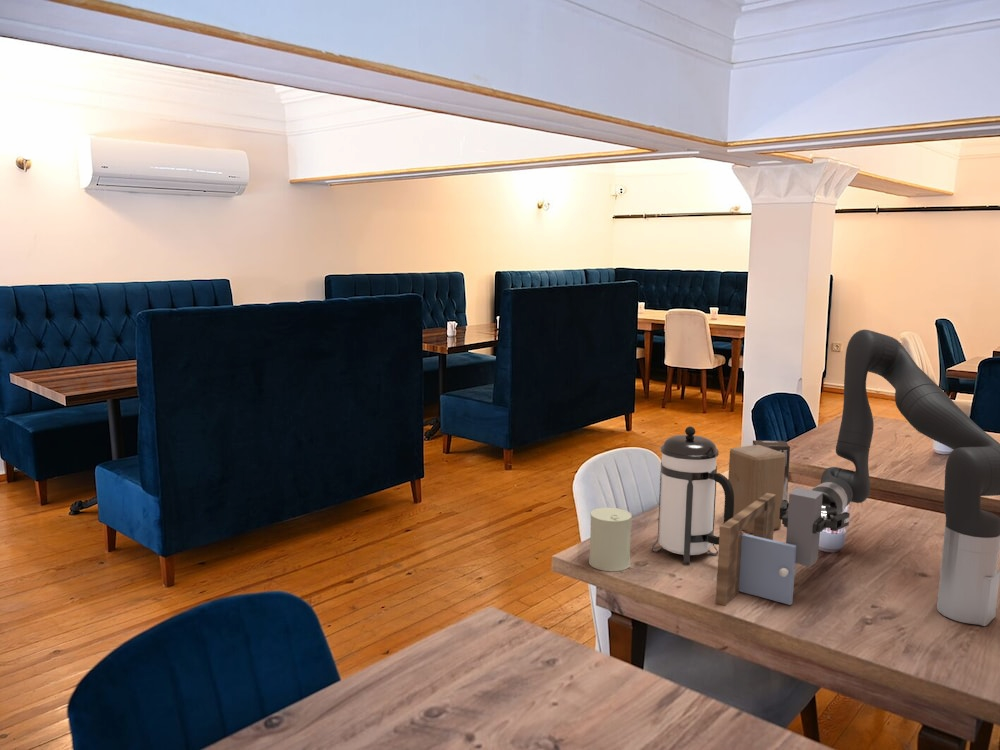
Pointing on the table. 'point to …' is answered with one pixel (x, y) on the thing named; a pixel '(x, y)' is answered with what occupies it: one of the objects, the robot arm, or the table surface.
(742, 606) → the table surface
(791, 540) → the grey rectangular block
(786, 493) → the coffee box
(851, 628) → the table surface
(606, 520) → the can
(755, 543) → the door
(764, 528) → the door frame
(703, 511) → the coffee press
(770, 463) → the wooden block
